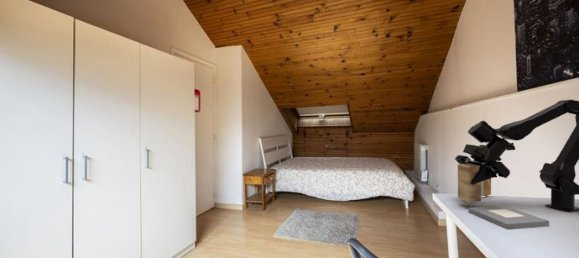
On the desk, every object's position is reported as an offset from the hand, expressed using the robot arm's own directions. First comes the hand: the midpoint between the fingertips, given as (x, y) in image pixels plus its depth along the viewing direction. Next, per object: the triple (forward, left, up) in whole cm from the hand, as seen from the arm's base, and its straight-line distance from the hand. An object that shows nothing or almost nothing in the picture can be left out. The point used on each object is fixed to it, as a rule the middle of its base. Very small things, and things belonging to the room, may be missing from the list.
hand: (465, 182), depth 92 cm
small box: (-19, -9, -10) cm, 23 cm away
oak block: (-1, 0, -7) cm, 7 cm away
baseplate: (-1, +12, -9) cm, 16 cm away
